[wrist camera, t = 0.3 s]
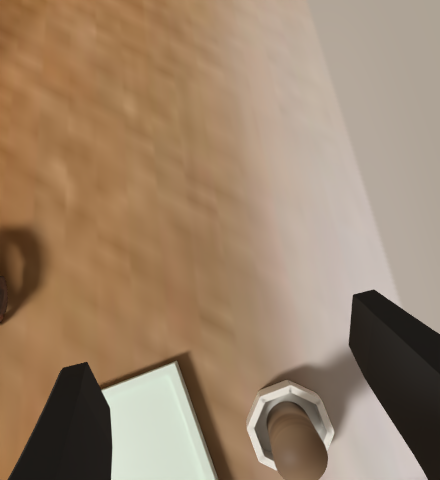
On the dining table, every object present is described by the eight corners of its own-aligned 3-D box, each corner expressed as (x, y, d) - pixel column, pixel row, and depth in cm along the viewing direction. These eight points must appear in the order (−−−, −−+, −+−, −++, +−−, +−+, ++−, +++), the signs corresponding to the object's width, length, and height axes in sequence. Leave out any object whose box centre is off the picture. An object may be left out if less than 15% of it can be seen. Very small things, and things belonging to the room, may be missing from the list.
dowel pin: (315, 436, 37) (336, 474, 30) (275, 452, 37) (285, 493, 30) (299, 394, 38) (315, 420, 30) (260, 410, 38) (265, 439, 30)
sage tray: (242, 550, 37) (243, 560, 35) (120, 597, 37) (115, 609, 35) (177, 360, 40) (174, 362, 38) (63, 403, 39) (56, 408, 38)
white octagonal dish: (337, 445, 38) (344, 456, 35) (265, 473, 38) (267, 485, 35) (307, 371, 39) (312, 376, 36) (238, 398, 39) (238, 405, 36)
